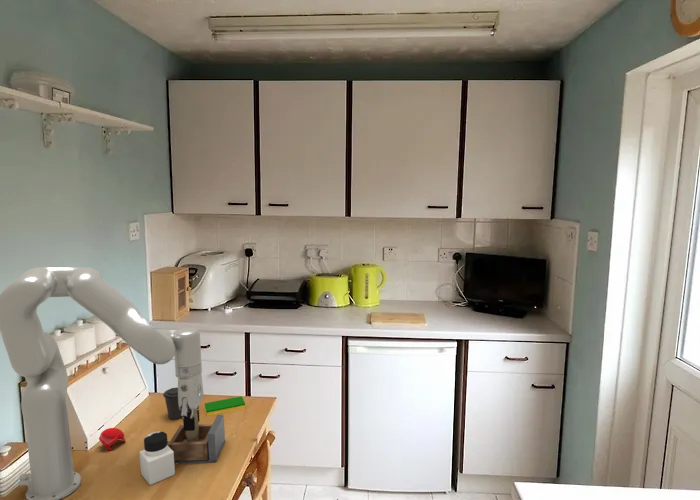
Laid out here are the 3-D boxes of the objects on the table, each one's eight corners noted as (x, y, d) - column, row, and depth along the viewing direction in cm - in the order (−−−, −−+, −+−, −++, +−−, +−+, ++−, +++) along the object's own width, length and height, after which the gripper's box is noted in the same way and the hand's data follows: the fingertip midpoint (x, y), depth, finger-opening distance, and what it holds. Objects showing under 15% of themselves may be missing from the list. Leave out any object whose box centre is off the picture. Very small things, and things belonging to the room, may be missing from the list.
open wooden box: (168, 461, 134) (167, 444, 134) (181, 440, 146) (180, 425, 145) (207, 459, 135) (206, 443, 134) (217, 439, 146) (216, 423, 146)
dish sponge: (245, 409, 168) (245, 403, 168) (206, 417, 163) (206, 411, 163) (242, 401, 175) (241, 395, 175) (204, 409, 169) (204, 402, 169)
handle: (186, 450, 136) (184, 402, 134) (182, 440, 141) (180, 394, 140) (203, 445, 138) (200, 398, 137) (198, 435, 144) (196, 390, 142)
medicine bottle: (175, 474, 129) (173, 435, 128) (150, 486, 125) (147, 445, 123) (165, 464, 135) (163, 425, 133) (140, 474, 130) (137, 435, 128)
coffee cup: (170, 410, 167) (168, 385, 166) (192, 411, 167) (190, 385, 166) (160, 422, 159) (158, 394, 158) (183, 422, 159) (181, 395, 158)
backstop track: (143, 464, 134) (141, 436, 133) (158, 443, 146) (156, 416, 144) (216, 462, 135) (214, 433, 134) (225, 441, 147) (223, 414, 145)
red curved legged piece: (101, 446, 139) (119, 431, 141) (93, 434, 142) (110, 419, 145) (114, 456, 144) (131, 441, 147) (106, 444, 148) (123, 430, 150)
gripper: (192, 380, 129) (196, 440, 131) (208, 358, 145) (211, 412, 148) (166, 380, 128) (169, 441, 131) (184, 359, 145) (187, 413, 147)
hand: (191, 425), depth 139 cm, fingers closed on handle, 3 cm apart
